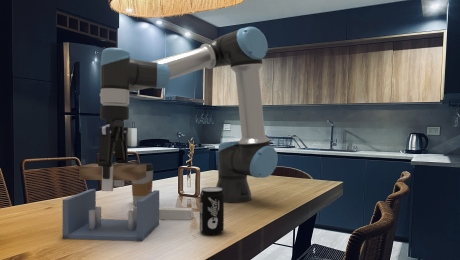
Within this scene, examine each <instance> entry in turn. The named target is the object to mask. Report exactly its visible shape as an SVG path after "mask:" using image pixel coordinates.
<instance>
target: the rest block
mask: <svg viewBox="0 0 460 260" xmlns="http://www.w3.org/2000/svg"><path fill="white" fill-rule="evenodd" d="M192 219H193V207H159V220H168V221H170V220H171V221H173V220H174V221H175V220H176V221H177V220H178V221H191V220H192Z"/></svg>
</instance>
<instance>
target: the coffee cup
mask: <svg viewBox="0 0 460 260" xmlns="http://www.w3.org/2000/svg"><path fill="white" fill-rule="evenodd" d="M131 165H146V177H145V178H143V179H141V180H138V181H131V192H132V193H131V195H132V203H133V205H134V206H136V207H137V201H138V200H140V199H141V198H143V197H145V196H146V195H148V194H149V193H151V192H153V182H154V181H153V177H154V166H153V163H152V162H151V163H150V162H142V163H141V162H140V163H138V162H137V163H133V164H131Z"/></svg>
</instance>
